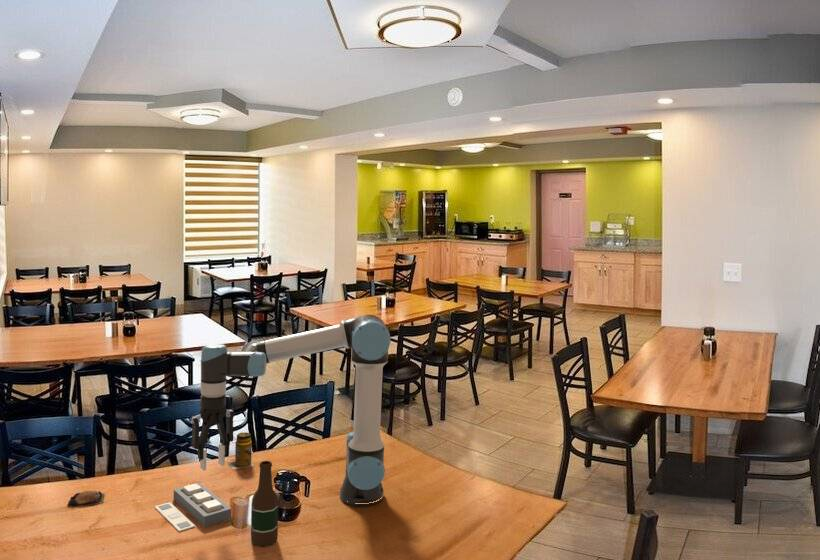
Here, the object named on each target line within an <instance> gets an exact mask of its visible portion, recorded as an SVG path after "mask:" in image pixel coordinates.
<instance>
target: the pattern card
mask: <svg viewBox="0 0 820 560" xmlns="http://www.w3.org/2000/svg"><path fill="white" fill-rule="evenodd" d="M154 509H156V511H157V512H158V513H159V514H160V515H161V516H162V517H163V518H164V519H166V520H167V522H168V523H169V524H170V525H171V526H172V527H174V528H175V530H176V531H177V532H178V533H179V532H180V533H181V532H183V531H187V530H189V529H193V528H196V525H195V524H194V523H193V522H192V521H191V520H190V519H189V518H188V517H186V515H185V514H183V513H182V512H181V511H180V510H179V509H178V508H177V507H176V506H175V505H174V504H173V503H172V502H166V503H161V504H159V505H155V506H154Z"/></svg>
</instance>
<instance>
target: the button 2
mask: <svg viewBox="0 0 820 560" xmlns="http://www.w3.org/2000/svg"><path fill="white" fill-rule="evenodd" d="M220 509H222V504H221V503H220V502H218V501H217V500H216V499H214V500H211V501H207V502H204V503H202V510H204V511H205V512H206V513H210V512H213V511H217V510H220Z"/></svg>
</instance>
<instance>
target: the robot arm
mask: <svg viewBox="0 0 820 560" xmlns="http://www.w3.org/2000/svg"><path fill="white" fill-rule="evenodd" d="M390 334H391V333H390V331H389V328H388V327H387V326H386V324H385V322H384V321H383V320H382V319H381V318H380V317H379V316H377V315H374V314H364V315H359V316H356V317H353V318H348V319H344V320H341V322H340V323H339V324H335V325H332V326H328V327H327V326H326V327H322V328H318V329H313V330H309V331H308V330H307V331H304V332H300V333H294V334H290V335H286V336H281V337H276V338H273V339H268V340H263V341H249V342H247V343H246V344H244V345H243V347H242V348H241V350H240V351H230V350H229V351H228V349H227V348H228V347H227V345H225V344H223V343H221V344H220V343H209V344H206V345H204V346H203V347H202V348H201V355H200V356H201V357H200V394H201V395H200V411H199V414H197V415H195V416H193V415H192V416H191V417H190V421H191V424H192V426H191V427H192V428H191V447H192V448H193V449H195V450H197V459H198V460H200V464H199V466H200V467H199V468H200V469H201V470H202V471H207V453H208V452H207V448H205V446H206V442H207V439H208V436H209V432H210V429H211V427H212V425H214V424H215V425H216V428H217V430H218V431H217V432H218V435H219V438H220V443H218V464H219V465H220V466H222V467H224V466H225V465H226V464H225V462H226V459H225V455H228V446H229V445H230V442H234V417H235V414H236V412H235V411H234V410H233V409H230V408H229V409H227V408H226V404H227V394H226V393H227V377H252V378H254V377H264V376H265V374H266V370H267V364H270V363H275V362H279V361H284V360H289V359H293V358H296V357H302V356H307V355H312V354H316V353H320V352H326V351H330V350H334V349H340V348H343V347H344V348H346V349H347V350H348V349H351V360H350V361H351V362H352V363H353V365H354V366H355V379H354V380H355V381H354V382H355V383H354V405H353V407H354V408H353V430H352V431H351V432H348V433H347V435H346V440H345V442H346V453H345V454H346V455H345V476H344V478H343V481H342V485H341V487H340V490H339V499H340V500H341V501H342V502H343V503H345V504H347V505H350V506H353V507H370V506H375V505H377V504H379V503H381V502H382V501H383V499H384V495H383V494H384V493H385V491H384V487H383V484H382V482H383V480H384V478H385V474H386V467H385V463H384V462H385V461H384V460H385V459H384V458H385V443H384V441H382V438H381V420H382V396H383V395H382V394H383V393H382V392H383V372H384V371H383V370H384V369H383V368H384V366H385V365H386V364H387V363H388V362H389V348H390V345H391V335H390ZM224 417H225V423H226V424H225V426H224ZM201 420H202V424H201V426H202V427H201V429H200V423H201ZM200 430H201V431H200ZM382 496H383V498H382V499H380V498H381V497H382ZM378 499H380V500H379V501H377V502H374V503H369V502H373V501H376V500H378ZM347 501H348V502H347ZM355 503H369V504H355Z"/></svg>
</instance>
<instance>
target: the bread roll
mask: <svg viewBox="0 0 820 560" xmlns="http://www.w3.org/2000/svg"><path fill="white" fill-rule="evenodd" d="M105 495H106V494H105V493H102V492H101V490H99V491H97V490H85V491H81V492H76V493H75V494H74V495H73V496H70V498H69V499H70V500H68V502H67V506H68V508H76V507H85V506H94V505H100V504H104V501H105Z"/></svg>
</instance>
